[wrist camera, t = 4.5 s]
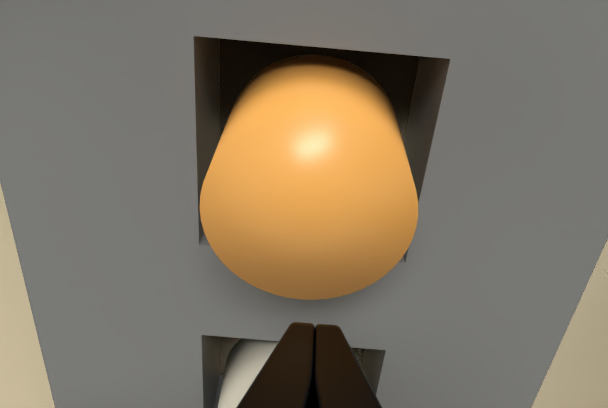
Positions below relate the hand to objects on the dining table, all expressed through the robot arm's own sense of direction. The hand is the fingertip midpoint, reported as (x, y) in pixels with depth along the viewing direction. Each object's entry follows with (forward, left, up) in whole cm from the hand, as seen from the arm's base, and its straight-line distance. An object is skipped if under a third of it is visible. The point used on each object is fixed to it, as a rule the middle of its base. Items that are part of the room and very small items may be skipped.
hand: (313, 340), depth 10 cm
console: (0, +6, -7) cm, 9 cm away
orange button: (0, -2, -5) cm, 5 cm away
